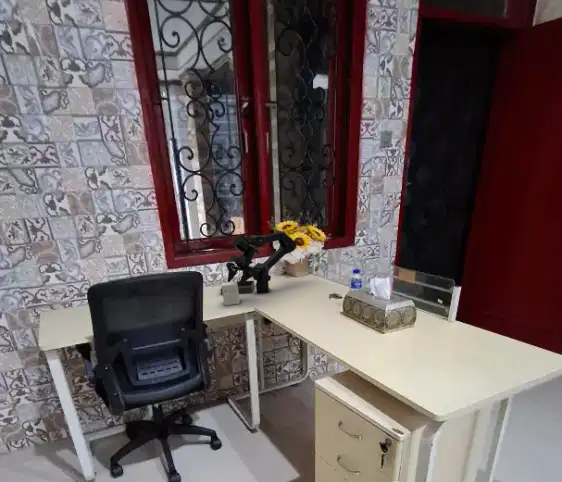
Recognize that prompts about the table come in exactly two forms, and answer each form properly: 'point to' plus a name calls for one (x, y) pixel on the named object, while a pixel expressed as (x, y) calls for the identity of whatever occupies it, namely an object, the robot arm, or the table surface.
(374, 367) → the table surface
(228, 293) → the small box
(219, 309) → the table surface
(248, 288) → the pan
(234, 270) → the robot arm
